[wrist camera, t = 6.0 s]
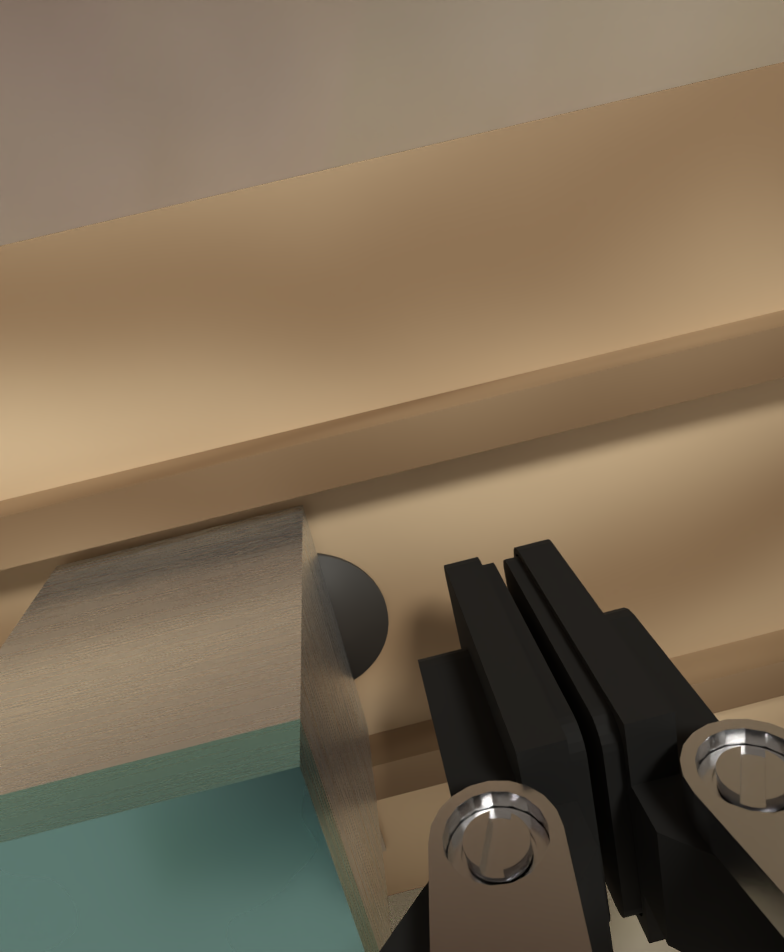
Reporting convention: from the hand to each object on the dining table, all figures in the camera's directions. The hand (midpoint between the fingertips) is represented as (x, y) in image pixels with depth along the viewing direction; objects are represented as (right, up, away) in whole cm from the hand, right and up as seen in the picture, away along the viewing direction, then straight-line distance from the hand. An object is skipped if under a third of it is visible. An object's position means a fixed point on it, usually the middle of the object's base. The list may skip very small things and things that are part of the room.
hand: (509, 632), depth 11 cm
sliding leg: (-5, -1, +1) cm, 5 cm away
